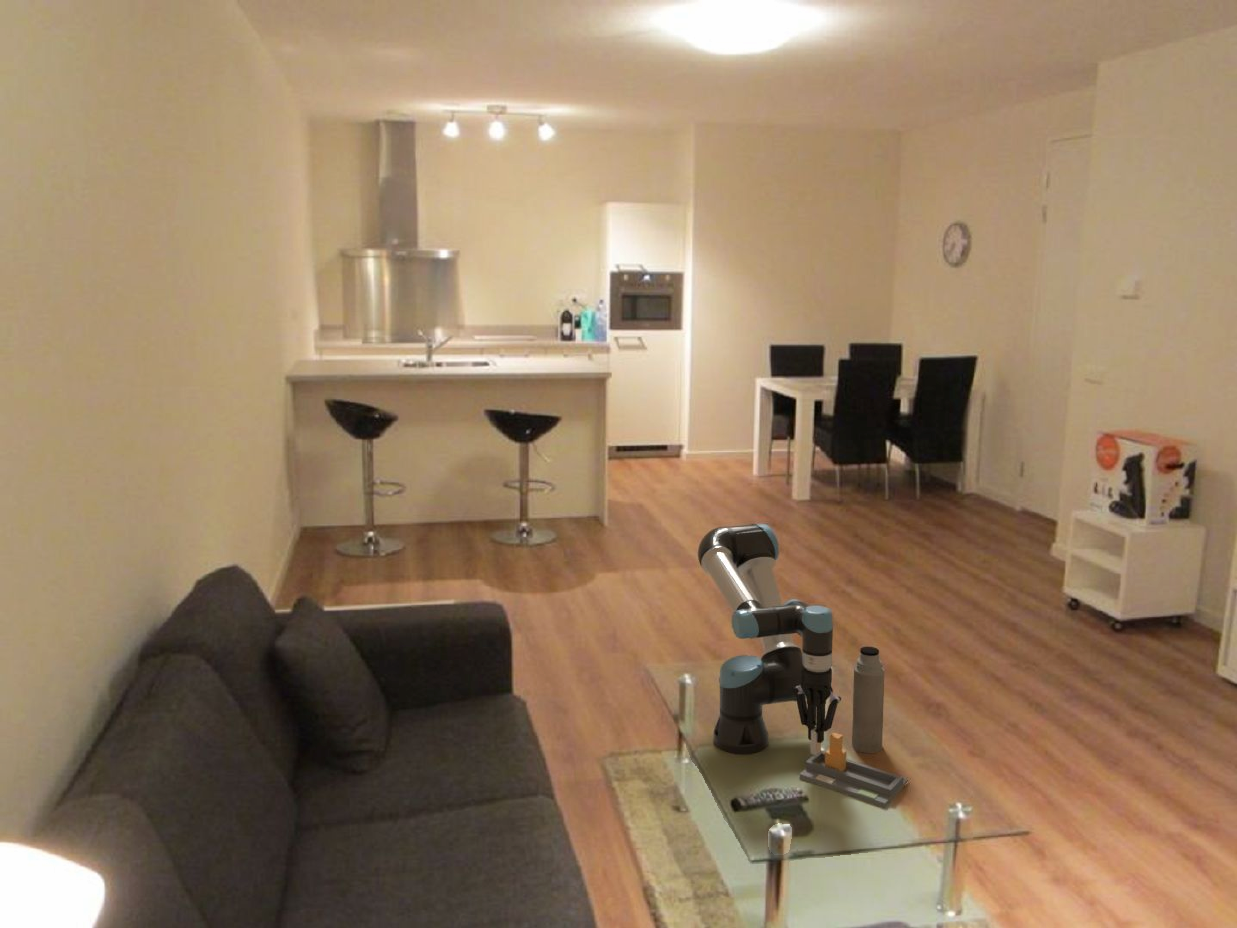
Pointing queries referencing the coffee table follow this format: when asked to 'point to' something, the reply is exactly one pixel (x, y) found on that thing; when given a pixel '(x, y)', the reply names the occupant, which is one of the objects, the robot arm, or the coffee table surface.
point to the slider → (836, 753)
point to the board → (855, 780)
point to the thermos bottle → (868, 701)
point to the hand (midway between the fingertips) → (815, 752)
